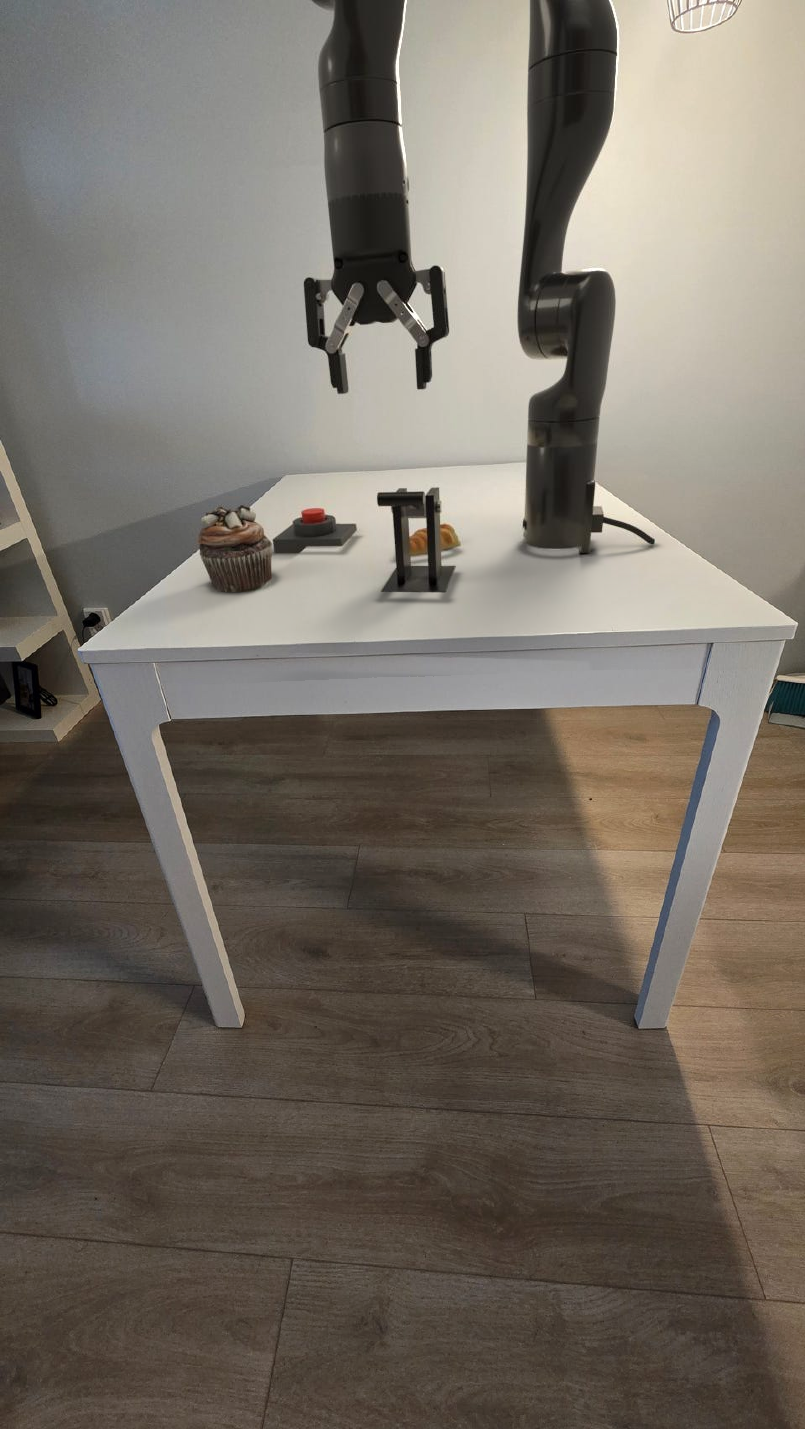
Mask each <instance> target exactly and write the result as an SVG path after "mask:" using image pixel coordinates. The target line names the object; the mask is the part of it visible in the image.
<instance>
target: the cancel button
mask: <svg viewBox="0 0 805 1429" xmlns="http://www.w3.org/2000/svg"><path fill="white" fill-rule="evenodd" d="M300 515H301V517H302V522H303V523H317V522H322V521H326V519H325V515H326V513H325V509H324V508H320V507H312V508H306V509H302V510H301V512H300Z"/></svg>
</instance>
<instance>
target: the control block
mask: <svg viewBox="0 0 805 1429" xmlns="http://www.w3.org/2000/svg"><path fill="white" fill-rule="evenodd" d="M325 519H326V521H322V522H317V523H303V522H302V516H301V517H297V518H295V519H294V520H292V524H290V526H288V527H287V528H285V529H284V530H282V532H280V533H278V535H276V536H275V537H274V538H272V547H273V552H274V553H275V554H300V553H302V551H304V550H305V549H306V548H307V547H343V546H344V545H345V544H346V542H347V541H349V539H351V537H352V536H353V535H354V534H355V533H356V532H357V530H358V529H357V528H358V527H357V523H337V520H336V517H335V516H334V515H330V514H325Z"/></svg>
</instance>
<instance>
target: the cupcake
mask: <svg viewBox="0 0 805 1429" xmlns="http://www.w3.org/2000/svg"><path fill="white" fill-rule="evenodd" d="M256 518H257V512H255V511H254V510H252V509H251V508H250V506H247V505H244V504H240V505H239V506H238V507H237V508H236V509H231V508H229V509H226V508H224V507H223V506H218V507H216V508H214V509H213V510H212V511H211V512H210V511H209V512H206V513H205V515H204V516H203V517H201V518H200V524H201V527H202V528H201V529H200V532H199V534H198V539H197V545H199V547H198V548H199V556H200V559H201V561H202V563H203V565H204V567H205V569H206V572H207V574H208V577H209V579H210V582H211V584H212V586H213V588H214V589H215V590H217V591H219V592H222V593H244V592H250V591H254V590H258V589H261V588H262V587H264V586H265V585H266V584H267V583H269V582H270V581H271V580H272V557H273V556H272V555H273V542H272V541H271V540H270V539H269V538H268V537H267V536H266V535H265V530H264V527H263V526H262V525H261V524H260V523H258V522H257V521H256Z"/></svg>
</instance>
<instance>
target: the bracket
mask: <svg viewBox="0 0 805 1429" xmlns="http://www.w3.org/2000/svg"><path fill="white" fill-rule="evenodd" d="M395 492H408V488H407V487H400V488H398V489H397V490H396V491H395ZM440 498H441V497H440V487H439V486H437V487H436V486H435V487H430V489H429V490H428V491H427V493H425V501H426V518H425V522H426V528H427V550H428V554H427V565H412V559H411V558H412V556H410V522H409V519H410V518H408V517H405V508H404V507H402V506H390V511H391V513H392V524H393V537H394V538H393V540H394V553H395V568H394V570H393V572H392V573H391V574H390V577H389V578H388V579H387V581H386V583H385V584H384V586H383V587H382V588H381V590H380V592H381V593H446V592H447V590H448V588H449V585H450V582H451V580H452V577H453V575H454V573H455V570H456V568H457V566H456V565H442V551H441V531H440V525H441V513H442V511H443V502H442V500H441V499H440Z"/></svg>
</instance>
